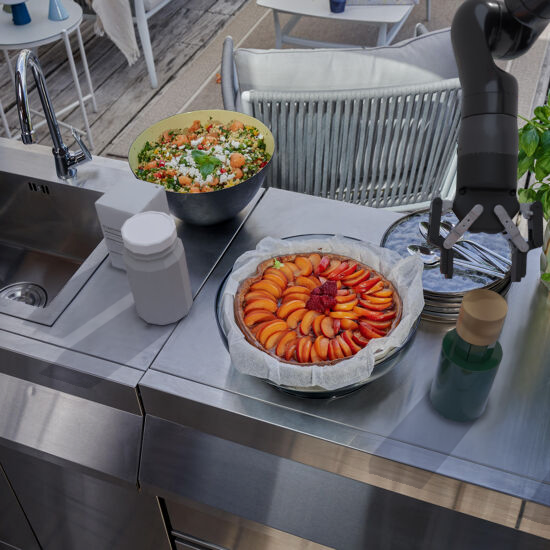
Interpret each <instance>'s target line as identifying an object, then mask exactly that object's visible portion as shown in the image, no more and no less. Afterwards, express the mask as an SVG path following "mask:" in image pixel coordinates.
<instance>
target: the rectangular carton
mask: <svg viewBox="0 0 550 550" xmlns="http://www.w3.org/2000/svg"><path fill="white" fill-rule="evenodd" d="M94 206H95V211H96V214H97V218H98V221H99V225H100V227H101V231H102V234H103V238H104V241H105V242H104V243H105V245H106V248H107V252H108V256H109V259H110V262H111V266H112V267H114V268H116V269H119V270H123V271H126V267H125V264H124V259H123V254H122V251H123V250H124V248H125V246H124V242H123V238H122V233H121V228H122V226H123V225H124V223H125V221H126V220H128V219H129V218H131V217H133V216H134V215H136V214H138V213H143V212H148V211H156V212H164V213H166V214H167V215H169V216H170V217H171V213H170V208H169V203H168V198H167V192H166V187H165V185H162V184H158V183H153V182H149V181H146V180H142V179H138V178H136V177H131V176H127V175H122V176H121V177H120V178H119V179H118V180H117V181H116V182H115V183H114V184H113V185H112V186H111V187H110V188H109V189H108V190H107V191H106V192H105V193H103V194H102V195H101V196H100V197H99V198H98V199H97V200H96V201H95V202H94Z"/></svg>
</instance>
